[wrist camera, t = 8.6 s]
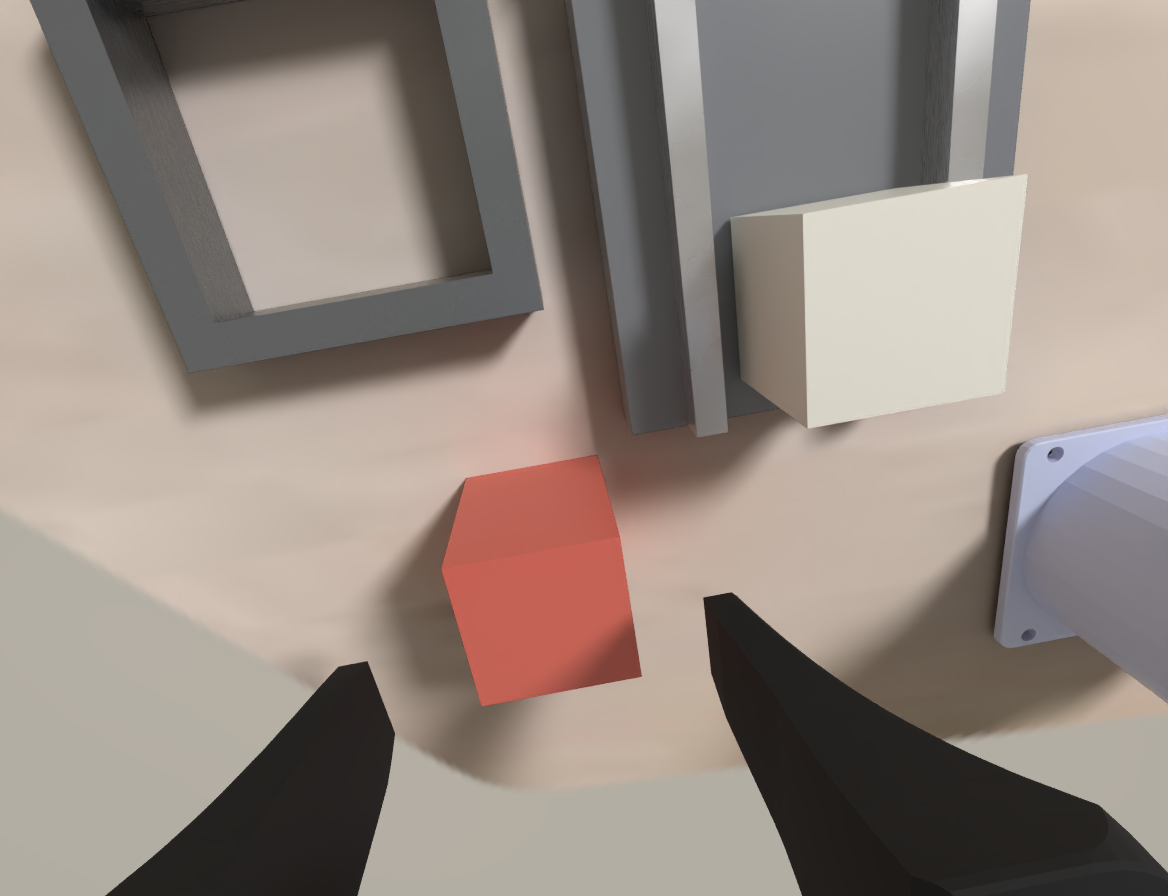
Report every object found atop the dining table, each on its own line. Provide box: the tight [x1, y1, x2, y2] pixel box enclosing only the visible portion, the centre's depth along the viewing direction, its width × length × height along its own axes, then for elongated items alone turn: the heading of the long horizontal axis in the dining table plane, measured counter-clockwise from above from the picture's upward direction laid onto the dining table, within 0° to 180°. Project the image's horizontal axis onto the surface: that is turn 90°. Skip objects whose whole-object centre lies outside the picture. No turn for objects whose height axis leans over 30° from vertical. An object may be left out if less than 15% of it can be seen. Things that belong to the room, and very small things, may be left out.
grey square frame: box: [30, 0, 544, 373], centre depth 13 cm, size 8×8×2 cm
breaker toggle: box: [730, 174, 1028, 429], centre depth 13 cm, size 4×4×4 cm
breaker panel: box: [564, 0, 1031, 438], centre depth 13 cm, size 10×14×2 cm
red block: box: [441, 455, 642, 706], centre depth 16 cm, size 4×4×5 cm
